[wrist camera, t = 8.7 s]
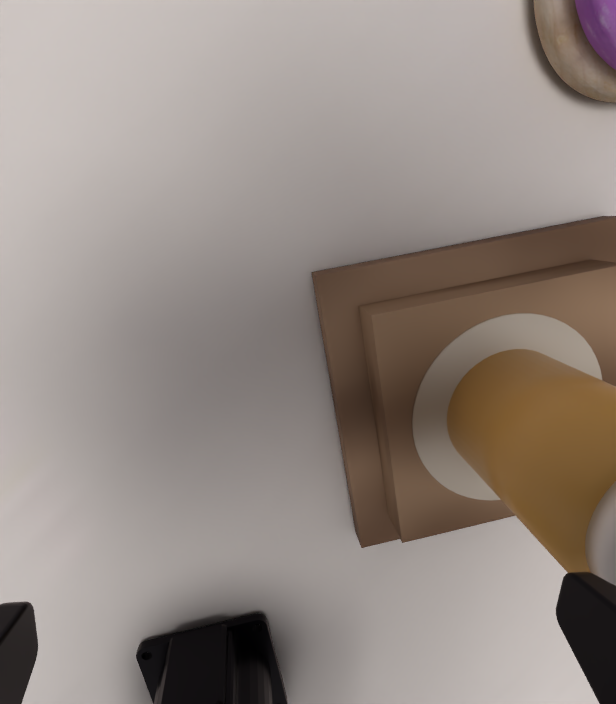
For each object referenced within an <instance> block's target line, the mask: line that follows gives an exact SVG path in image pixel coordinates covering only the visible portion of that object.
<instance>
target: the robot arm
mask: <svg viewBox="0 0 616 704" xmlns="http://www.w3.org/2000/svg"><path fill="white" fill-rule="evenodd" d="M556 616H557V620H558V623H559V625H560V628H561V629H562V631H563V633H564V635H565V637H566V639H567V641H568V643H569V645H570V647H571V649H572V651H573V653H574V655H575V657H576V659H577V661H578V663H579V664H580V666H581V668H582V670H583V672H584V674H585V676H586V678H587V680H588V682H589V684H590V686H591V688H592V690H593V692H594V694H595V696H596V698H597V699H598V701H599V703H600V704H616V586H615V585H613V584H611V583H610V582H608V581H606V580H604V579H602V578H600V577H599V576H597V575H595V574H593V573H590V572H570V573H567V574H566V575H565V576H564V578H563V581H562V585H561V590H560V594H559V598H558V602H557V606H556ZM256 624H260V625H256ZM37 651H38V639H37V631H36V623H35V615H34V609H33V606H32V604H31V603H29V602H12V603H3V604H1V605H0V704H21V703H22V700H23V697H24V694H25V691H26V688H27V685H28V682H29V679H30V676H31V673H32V670H33V667H34V664H35V661H36V657H37ZM147 652H150V653H147ZM136 658H137V661H138V664H139V666H140V669H141V672H142V674H143V677H144V680H145V682H146V685H147V688H148V690H149V693H150V696H151V698H152V701H153V704H287V696H286V692H285V688H284V684H283V680H282V676H281V672H280V669H279V665H278V661H277V657H276V653H275V649H274V645H273V641H272V637H271V633H270V629H269V625H268V622H267V618H266V617H265V616H264V615H263V614H252V615H248V616H244V617H240V618H236V619H232V620H228V621H224V622H220V623H216V624H212V625H208V626H204V627H200V628H196V629H192V630H188V631H184V632H180V633H176V634H172V635H168V636H164V637H160V638H156V639H152V640H148V641H144V642H142V643H141V644H140V645H139V647H138V650H137V654H136Z"/></svg>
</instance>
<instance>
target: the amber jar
mask: <svg viewBox="0 0 616 704" xmlns="http://www.w3.org/2000/svg"><path fill="white" fill-rule="evenodd" d="M447 429H448V434H449V437H450V440H451V442H452V444H453V446H454V448H455V449H456V451H457V452H458V453H459V454H460V455H461V457H462V458H463V459H464V460H465V461H466V462H467V463H468V464H469V465H470V466H471V467H472V469H473V470H474V471H475V472H476V473H477V474H478V475H479V476H480V477H481V478H482V479H483V481H484V482H485V483H486V484H487V485H488V486H489V487H490V488H491V489H492V490H493V491H494V493H495V494H496V495H497V496H498V497H499V498H500V499H501V500H502V501H503V502H504V503H505V505H506V506H507V507H508V508H509V509H510V510H511V511H512V512H513V513H514V514H515V515H516V517H517V518H518V519H519V520H520V521H521V522H522V523H523V524H524V525H525V526H526V527H527V529H528V530H529V531H530V532H531V533H532V534H533V535H534V536H535V537H536V538H537V539H538V541H539V542H540V543H541V544H542V545H543V546H544V547H545V548H546V549H547V550H548V552H549V553H550V554H551V555H552V556H553V557H554V558H555V559H556V560H557V561H558V562H559V564H560V565H561V566H562V567H563V568H564V569H565V570H566V571H567V572H568V573H570V572H590V573H593V574H595V575H597V576H599V577H600V578H602V579H604V580H606V581H608V582H610V583H611V584H613V585H615V586H616V386H613V385H611V384H609V383H607V382H605V381H602V380H600V379H598V378H596V377H593V376H591V375H589V374H587V373H584V372H582V371H580V370H578V369H576V368H573V367H571V366H569V365H567V364H564V363H562V362H560V361H558V360H555V359H553V358H551V357H549V356H547V355H544V354H542V353H540V352H537V351H533V350H528V349H512V350H506V351H502V352H499V353H496V354H493V355H491V356H489V357H487V358H485V359H483V360H482V361H481V362H479V363H478V364H476V365H475V366H474V367H473V368H472V369H470V370H469V371H468V372H467V373H466V375H465V376H464V377H463V378H462V379H461V381H460V382H459V384H458V385H457V387H456V389H455V390H454V392H453V395H452V397H451V400H450V403H449V407H448V412H447Z"/></svg>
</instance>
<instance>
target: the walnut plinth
mask: <svg viewBox="0 0 616 704" xmlns="http://www.w3.org/2000/svg"><path fill="white" fill-rule="evenodd" d="M312 278H313V284H314V290H315V295H316V301H317V307H318V313H319V319H320V325H321V331H322V337H323V342H324V348H325V354H326V360H327V366H328V372H329V378H330V384H331V389H332V395H333V401H334V407H335V413H336V419H337V425H338V431H339V437H340V442H341V448H342V454H343V460H344V466H345V472H346V478H347V484H348V489H349V495H350V501H351V507H352V513H353V519H354V525H355V531H356V534H357V537H358V540H359V542H360V545H361V548H364V547H368V546H372V545H376V544H380V543H384V542H388V541H393V540H397V539H401V541H402V543H404V542H408V541H412V540H416V539H420V538H424V537H429V536H433V535H437V534H441V533H445V532H449V531H453V530H457V529H462V528H466V527H470V526H474V525H478V524H482V523H486V522H490V521H495V520H499V519H503V518H507V517H511V516H515V514H514V513H513V512H512V511H511V510H510V509H509V508H508V507H507V506H506V505H505V503H504V502H503V501H502V500H501V499H500V498H499V497H498V496H497V495H496V494H495V493H494V491H493V490H492V489H491V488H490V487H489V486H488V485H487V484H486V483H485V482H484V481H483V479H482V478H481V477H480V476H479V475H478V474H477V473H476V472H475V471H474V470H473V469H472V467H471V466H470V465H469V464H468V463H467V462H466V461H465V460H464V459H463V458H462V457H461V455H460V454H459V453H458V452H457V451H456V449H455V448H454V446H453V444H452V442H451V440H450V437H449V434H448V429H447V412H448V407H449V403H450V400H451V397H452V395H453V392H454V390H455V389H456V387H457V385H458V384H459V382H460V381H461V379H462V378H463V377H464V376H465V375H466V373H467V372H468V371H469V370H470V369H472V368H473V367H474V366H475V365H476V364H478V363H479V362H481V361H482V360H483V359H485V358H487V357H489V356H491V355H493V354H496V353H499V352H502V351H506V350H512V349H528V350H533V351H537V352H540V353H542V354H544V355H547V356H549V357H551V358H553V359H555V360H558V361H560V362H562V363H564V364H567V365H569V366H571V367H573V368H576V369H578V370H580V371H582V372H584V373H587V374H589V375H591V376H593V377H596V378H598V379H600V380H602V381H605V382H607V383H609V384H611V385H613V386H616V216H602V217H597V218H591V219H586V220H581V221H576V222H571V223H565V224H560V225H555V226H550V227H545V228H539V229H534V230H529V231H524V232H519V233H513V234H508V235H503V236H498V237H493V238H488V239H482V240H477V241H472V242H467V243H462V244H456V245H451V246H446V247H441V248H436V249H430V250H425V251H420V252H415V253H410V254H404V255H399V256H394V257H389V258H384V259H378V260H373V261H368V262H363V263H358V264H353V265H347V266H342V267H337V268H332V269H327V270H321V271H316V272H312Z"/></svg>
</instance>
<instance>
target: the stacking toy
mask: <svg viewBox="0 0 616 704" xmlns="http://www.w3.org/2000/svg"><path fill="white" fill-rule="evenodd" d="M534 12H535V20H536V25H537V30H538V34H539V37H540V40H541V44H542V47H543V49H544V52H545V54H546V56H547V58H548V60H549V62H550V64H551V66H552V67H553V68H554V70H555V71H556V73H557V74H558V75H559V76H560V78H561V79H562V80H563V81H564V82H566V83H567V84H568V85H569V86H570V87H571V88H573V89H574V90H576V91H577V92H579V93H581V94H583V95H585V96H587V97H590V98H592V99H595V100H599V101H604V102H614V103H616V0H534Z"/></svg>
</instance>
